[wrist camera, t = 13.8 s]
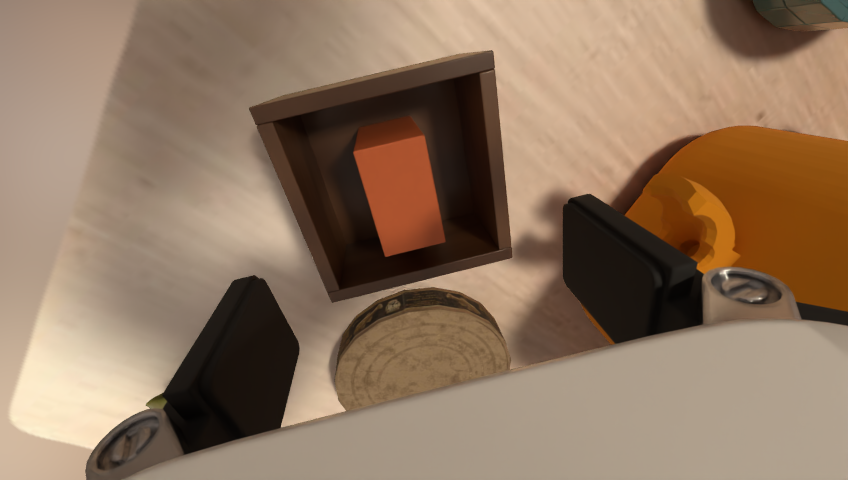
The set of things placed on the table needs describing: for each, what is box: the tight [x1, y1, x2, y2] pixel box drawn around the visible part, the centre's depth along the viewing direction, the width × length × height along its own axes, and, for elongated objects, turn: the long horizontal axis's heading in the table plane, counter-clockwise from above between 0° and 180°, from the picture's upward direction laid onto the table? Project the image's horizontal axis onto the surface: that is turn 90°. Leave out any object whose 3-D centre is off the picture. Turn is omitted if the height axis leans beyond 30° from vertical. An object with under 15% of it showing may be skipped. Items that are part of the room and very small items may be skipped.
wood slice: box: [335, 288, 511, 411], centre depth 32 cm, size 16×16×3 cm
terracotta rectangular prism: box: [353, 115, 446, 257], centre depth 21 cm, size 6×4×7 cm, turn 12°
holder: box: [581, 126, 848, 345], centre depth 24 cm, size 30×17×30 cm
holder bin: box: [249, 50, 512, 303], centre depth 21 cm, size 12×12×7 cm
